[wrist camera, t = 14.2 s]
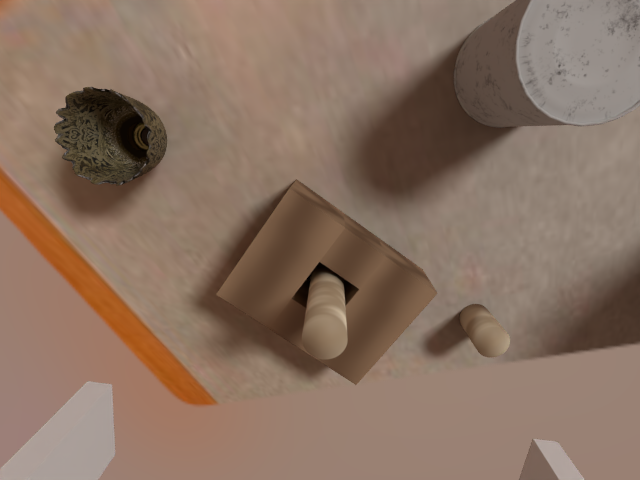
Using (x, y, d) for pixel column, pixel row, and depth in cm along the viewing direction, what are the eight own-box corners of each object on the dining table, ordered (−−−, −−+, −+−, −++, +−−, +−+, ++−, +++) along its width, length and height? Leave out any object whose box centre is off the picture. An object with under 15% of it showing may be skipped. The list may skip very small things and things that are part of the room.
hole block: (422, 269, 39) (437, 293, 34) (353, 350, 42) (356, 384, 37) (296, 179, 37) (289, 188, 31) (233, 271, 40) (215, 294, 34)
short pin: (495, 315, 40) (517, 339, 36) (475, 336, 41) (493, 363, 36) (473, 298, 40) (491, 321, 35) (453, 320, 41) (468, 345, 36)
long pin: (348, 266, 40) (356, 334, 26) (331, 289, 40) (329, 367, 27) (323, 249, 39) (318, 310, 26) (306, 272, 40) (292, 343, 26)
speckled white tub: (552, 128, 35) (661, 127, 23) (447, 127, 35) (503, 125, 24) (572, 12, 32) (708, -56, 21) (459, 12, 33) (529, -56, 21)
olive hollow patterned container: (112, 169, 38) (54, 178, 30) (111, 91, 36) (49, 80, 28) (185, 180, 38) (147, 192, 30) (188, 102, 36) (148, 94, 28)
